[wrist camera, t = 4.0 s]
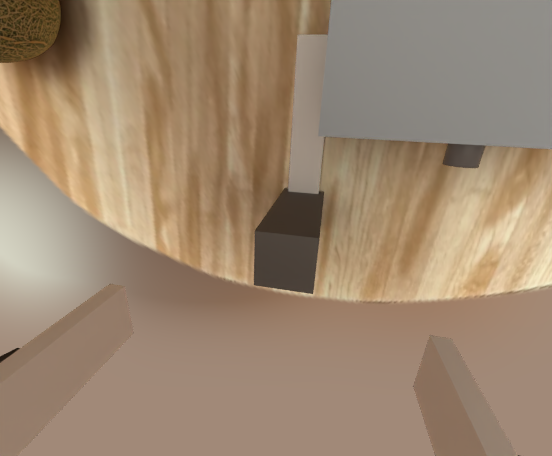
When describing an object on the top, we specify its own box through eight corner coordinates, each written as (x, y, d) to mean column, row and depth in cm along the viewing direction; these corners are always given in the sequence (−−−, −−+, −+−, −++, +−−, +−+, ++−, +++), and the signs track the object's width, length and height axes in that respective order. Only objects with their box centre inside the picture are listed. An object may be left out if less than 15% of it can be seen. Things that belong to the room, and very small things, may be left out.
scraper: (282, 224, 29) (254, 285, 18) (293, 39, 23) (259, -39, 12) (319, 228, 29) (312, 293, 18) (341, 38, 22) (351, -44, 11)
